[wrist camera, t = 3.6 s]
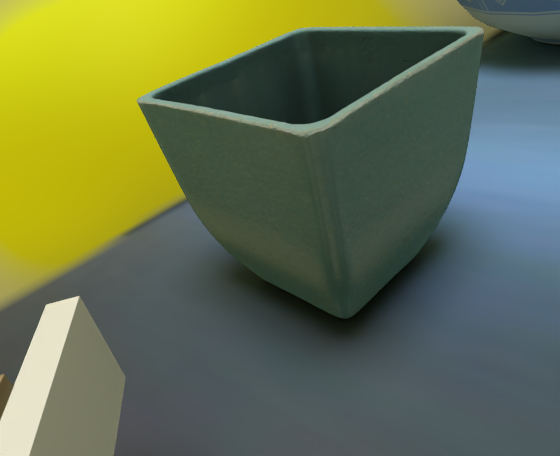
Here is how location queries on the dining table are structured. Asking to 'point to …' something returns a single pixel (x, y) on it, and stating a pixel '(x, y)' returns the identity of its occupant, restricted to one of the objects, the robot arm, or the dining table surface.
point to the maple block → (4, 392)
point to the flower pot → (324, 151)
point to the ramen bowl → (519, 17)
